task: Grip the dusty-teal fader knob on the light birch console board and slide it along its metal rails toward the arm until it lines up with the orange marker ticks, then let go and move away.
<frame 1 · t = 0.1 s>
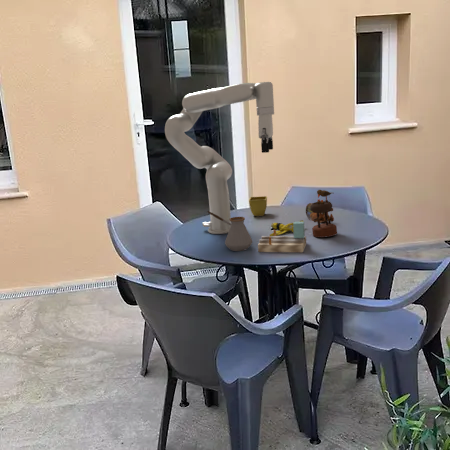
hand: (267, 150, 233), 37 cm above the table, tool pointing down, fingers open, 9 cm apart
coffee pot: (229, 247, 223), on the table
fader: (299, 231, 213), point 7 cm above the table, slide at 0.0 cm
tin: (317, 221, 254), on the table
console: (282, 247, 217), on the table
yellow action figure: (282, 232, 241), on the table
music box: (323, 235, 230), on the table
flower pot: (259, 215, 274), on the table
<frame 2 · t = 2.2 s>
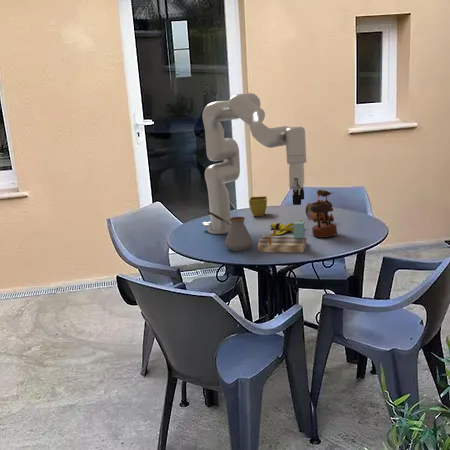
hand: (298, 202, 210), 19 cm above the table, tool pointing down, fingers open, 9 cm apart
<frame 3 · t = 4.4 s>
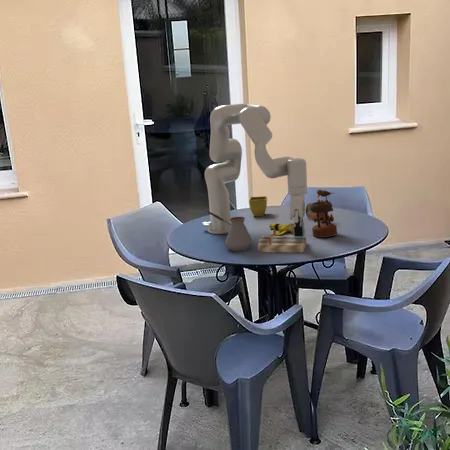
hand: (299, 234, 213), 6 cm above the table, tool pointing down, fingers closed on fader, 3 cm apart
fader: (299, 231, 213), point 7 cm above the table, slide at 0.0 cm, touching gripper
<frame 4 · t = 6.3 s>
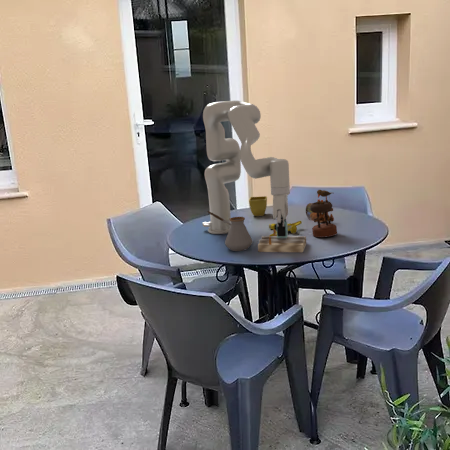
hand: (282, 234, 215), 6 cm above the table, tool pointing down, fingers closed on fader, 3 cm apart
fader: (282, 231, 215), point 7 cm above the table, slide at 6.9 cm, touching gripper
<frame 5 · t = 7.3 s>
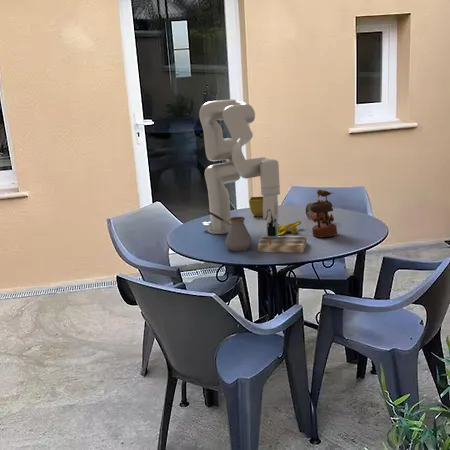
hand: (272, 234, 216), 6 cm above the table, tool pointing down, fingers closed on fader, 3 cm apart
fader: (272, 231, 216), point 7 cm above the table, slide at 10.9 cm, touching gripper
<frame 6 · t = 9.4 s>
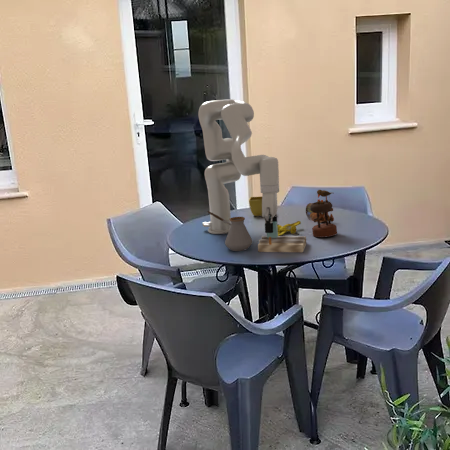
hand: (271, 229, 216), 8 cm above the table, tool pointing down, fingers open, 9 cm apart
fader: (272, 231, 216), point 7 cm above the table, slide at 11.0 cm
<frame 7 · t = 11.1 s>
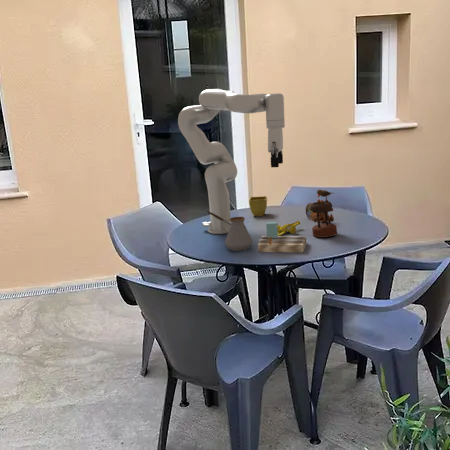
hand: (277, 165, 223), 32 cm above the table, tool pointing down, fingers open, 9 cm apart
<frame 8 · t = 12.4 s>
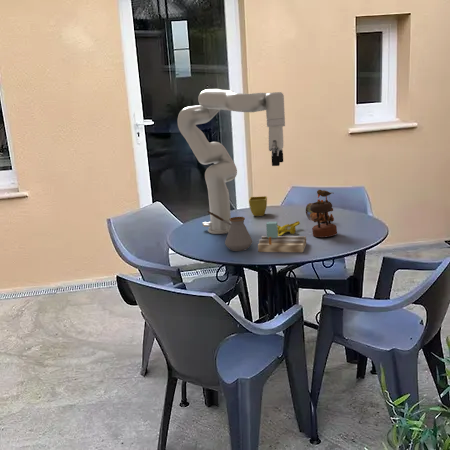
hand: (277, 163, 223), 32 cm above the table, tool pointing down, fingers open, 9 cm apart
at the end: fader slide at 11.0 cm; the gripper is holding nothing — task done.
